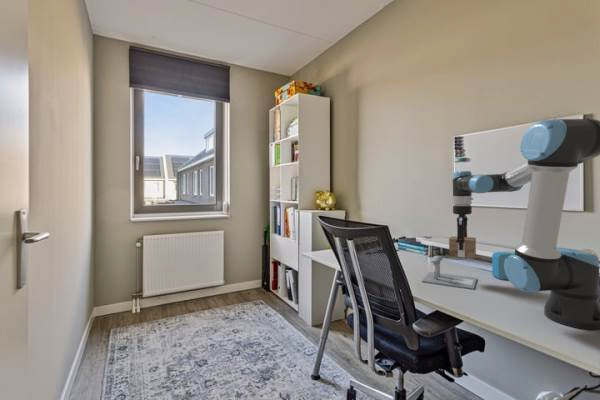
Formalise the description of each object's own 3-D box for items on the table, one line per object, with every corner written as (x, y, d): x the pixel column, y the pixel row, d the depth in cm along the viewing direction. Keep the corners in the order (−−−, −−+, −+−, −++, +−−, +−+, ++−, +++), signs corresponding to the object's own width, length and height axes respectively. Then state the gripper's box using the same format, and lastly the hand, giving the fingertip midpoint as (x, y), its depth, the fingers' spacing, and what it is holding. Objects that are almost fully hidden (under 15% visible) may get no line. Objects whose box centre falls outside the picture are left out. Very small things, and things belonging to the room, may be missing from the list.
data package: (516, 275, 145) (516, 251, 144) (523, 278, 140) (523, 253, 140) (492, 276, 145) (491, 252, 144) (498, 279, 140) (498, 254, 140)
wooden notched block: (474, 258, 132) (474, 240, 132) (449, 255, 138) (449, 238, 137) (475, 254, 138) (475, 237, 137) (451, 252, 144) (451, 236, 143)
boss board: (473, 289, 129) (473, 266, 128) (422, 282, 141) (421, 261, 140) (476, 279, 142) (476, 258, 142) (429, 273, 154) (429, 253, 154)
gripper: (469, 207, 126) (469, 261, 128) (473, 203, 143) (473, 251, 144) (449, 206, 130) (449, 259, 132) (456, 203, 147) (456, 249, 148)
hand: (462, 254), depth 138 cm, fingers closed on wooden notched block, 7 cm apart
